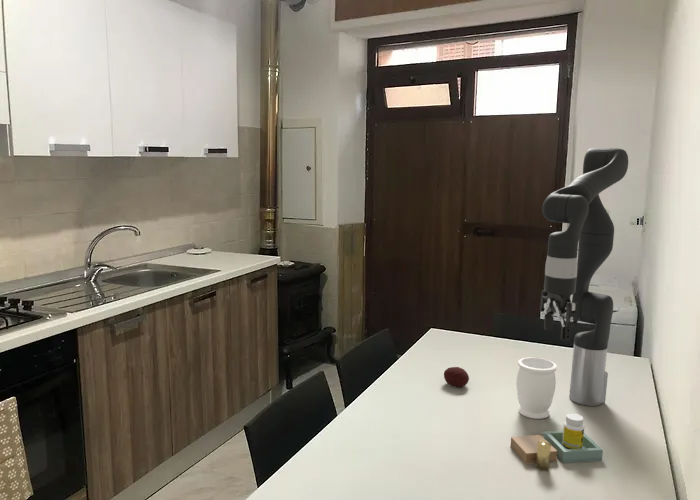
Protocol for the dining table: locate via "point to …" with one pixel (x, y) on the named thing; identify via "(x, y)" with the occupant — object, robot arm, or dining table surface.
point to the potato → (456, 377)
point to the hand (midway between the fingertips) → (556, 335)
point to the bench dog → (543, 455)
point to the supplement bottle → (573, 432)
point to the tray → (587, 452)
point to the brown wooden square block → (530, 448)
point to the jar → (535, 386)
